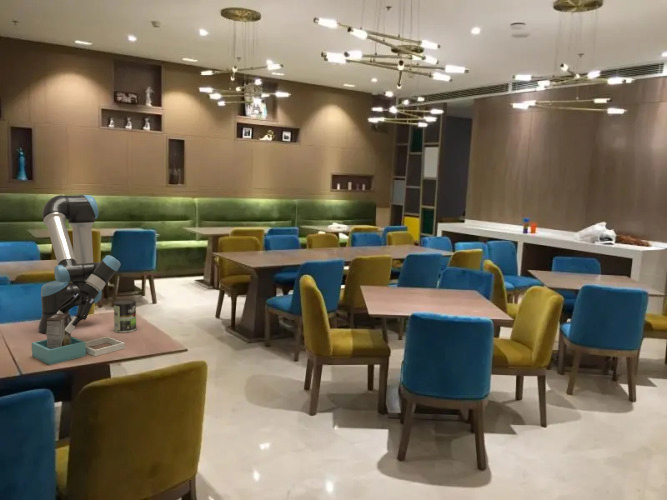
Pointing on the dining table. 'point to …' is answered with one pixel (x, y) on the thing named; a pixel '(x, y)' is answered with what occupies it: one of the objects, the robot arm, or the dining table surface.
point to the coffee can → (125, 315)
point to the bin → (58, 351)
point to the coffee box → (58, 331)
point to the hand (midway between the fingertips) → (59, 328)
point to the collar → (115, 346)
